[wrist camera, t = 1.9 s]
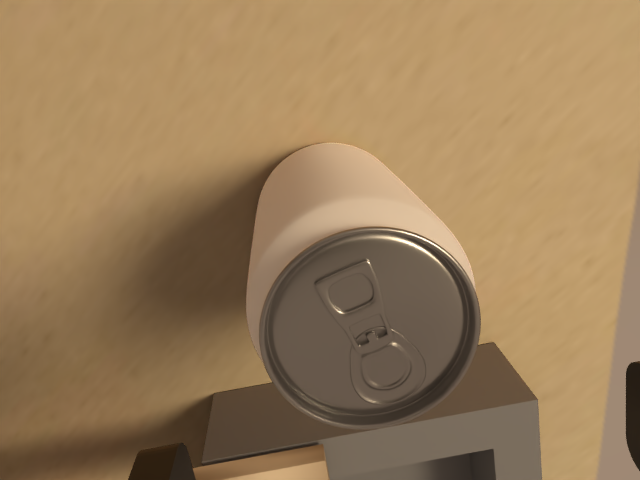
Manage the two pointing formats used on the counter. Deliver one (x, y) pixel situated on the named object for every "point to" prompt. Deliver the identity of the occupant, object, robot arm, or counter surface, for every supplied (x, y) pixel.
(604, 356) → the counter surface
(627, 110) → the counter surface
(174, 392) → the counter surface
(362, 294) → the can
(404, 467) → the housing
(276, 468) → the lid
